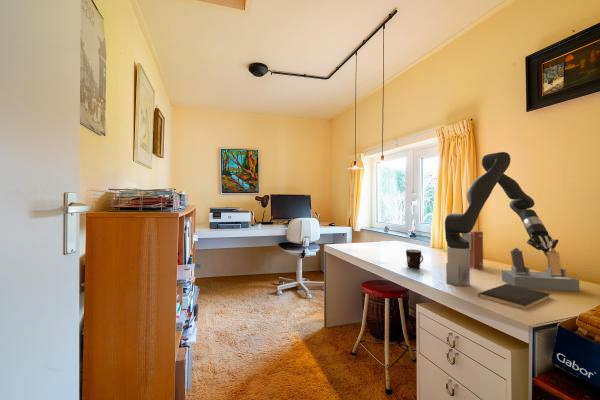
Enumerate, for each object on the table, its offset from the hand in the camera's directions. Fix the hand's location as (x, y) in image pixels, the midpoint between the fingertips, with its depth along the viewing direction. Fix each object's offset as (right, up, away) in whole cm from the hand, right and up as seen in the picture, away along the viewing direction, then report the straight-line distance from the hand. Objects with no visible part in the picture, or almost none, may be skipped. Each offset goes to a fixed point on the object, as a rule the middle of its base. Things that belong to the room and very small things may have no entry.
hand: (551, 256), depth 127 cm
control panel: (-14, -13, +36) cm, 41 cm away
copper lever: (-1, -8, -3) cm, 9 cm away
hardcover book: (-30, -14, -16) cm, 37 cm away
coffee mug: (-51, -13, +32) cm, 61 cm away
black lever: (-14, -8, 0) cm, 16 cm away
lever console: (-7, -13, -2) cm, 15 cm away
